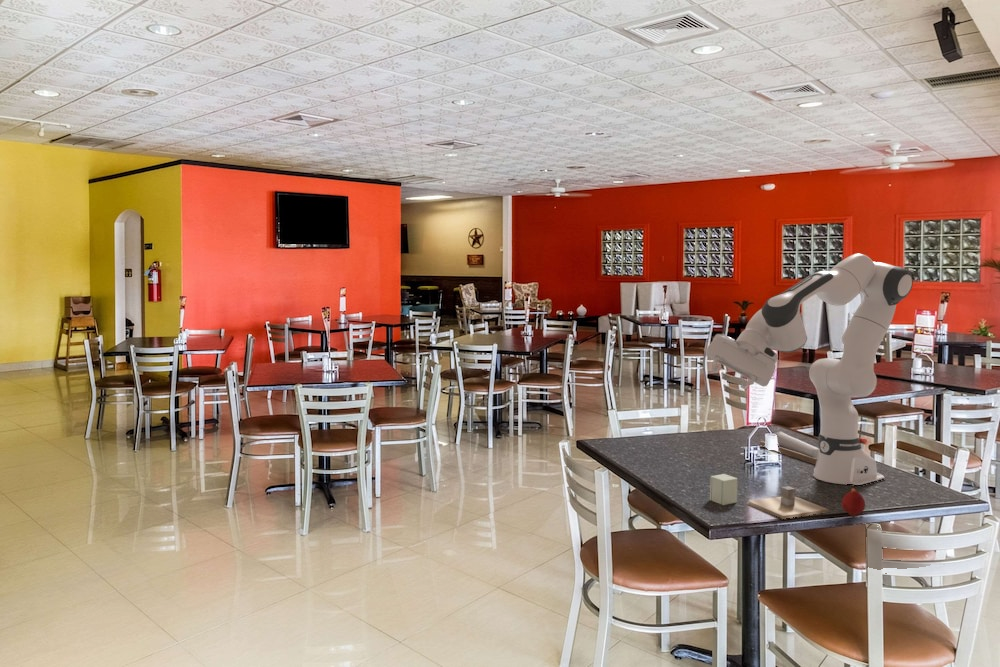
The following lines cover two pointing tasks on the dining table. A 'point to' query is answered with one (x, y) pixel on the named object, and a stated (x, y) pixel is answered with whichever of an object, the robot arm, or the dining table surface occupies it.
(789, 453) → the tube rack
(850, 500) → the onion
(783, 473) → the dining table surface
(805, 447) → the tube
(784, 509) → the post board
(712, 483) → the slotted sage cube
